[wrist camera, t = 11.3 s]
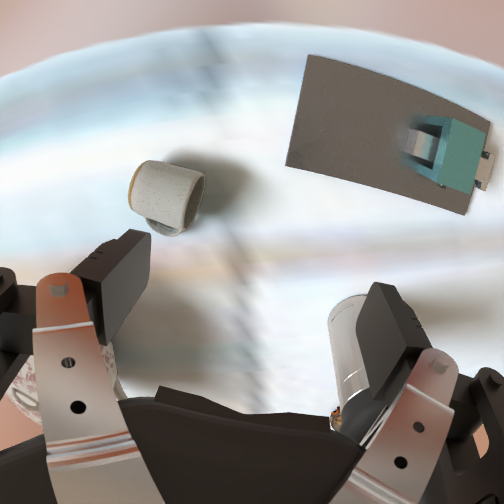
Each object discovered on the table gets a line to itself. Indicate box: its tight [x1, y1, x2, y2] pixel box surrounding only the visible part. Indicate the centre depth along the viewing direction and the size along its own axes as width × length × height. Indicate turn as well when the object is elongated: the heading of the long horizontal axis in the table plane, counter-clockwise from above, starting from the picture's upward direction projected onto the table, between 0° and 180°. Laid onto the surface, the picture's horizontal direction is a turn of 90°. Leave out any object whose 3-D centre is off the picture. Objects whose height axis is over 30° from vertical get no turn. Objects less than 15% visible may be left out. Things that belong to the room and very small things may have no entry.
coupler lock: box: [417, 116, 486, 194], centre depth 32 cm, size 5×8×6 cm, turn 170°
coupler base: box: [285, 54, 495, 216], centre depth 33 cm, size 26×14×4 cm, turn 80°
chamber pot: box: [4, 341, 128, 427], centre depth 45 cm, size 28×28×21 cm
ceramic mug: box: [128, 160, 206, 237], centre depth 38 cm, size 10×8×7 cm
